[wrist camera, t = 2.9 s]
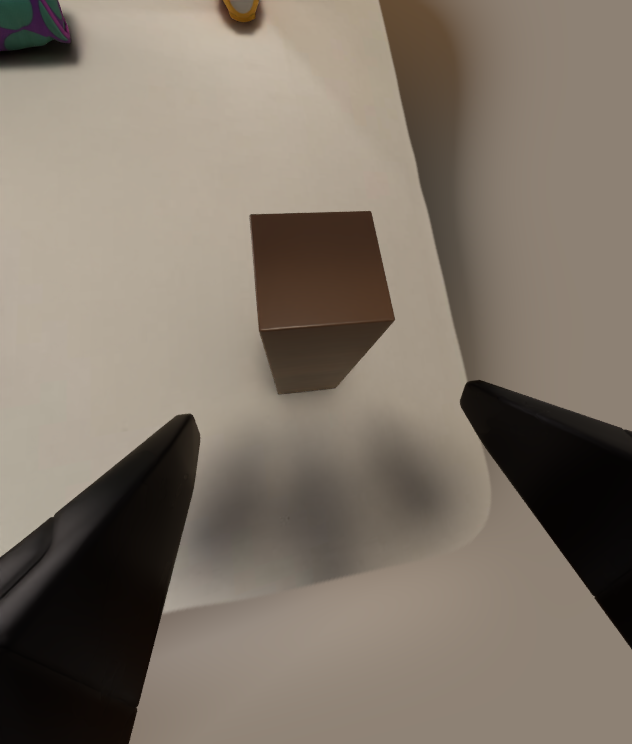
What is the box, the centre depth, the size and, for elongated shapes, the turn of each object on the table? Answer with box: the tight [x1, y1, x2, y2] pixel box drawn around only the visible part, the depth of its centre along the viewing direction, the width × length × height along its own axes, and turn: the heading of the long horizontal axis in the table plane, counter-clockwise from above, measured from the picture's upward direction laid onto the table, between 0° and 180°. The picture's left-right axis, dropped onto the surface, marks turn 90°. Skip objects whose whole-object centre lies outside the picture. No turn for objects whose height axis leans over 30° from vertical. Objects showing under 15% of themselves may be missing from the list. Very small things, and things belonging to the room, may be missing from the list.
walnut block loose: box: [250, 211, 395, 394], centre depth 15 cm, size 4×4×12 cm
